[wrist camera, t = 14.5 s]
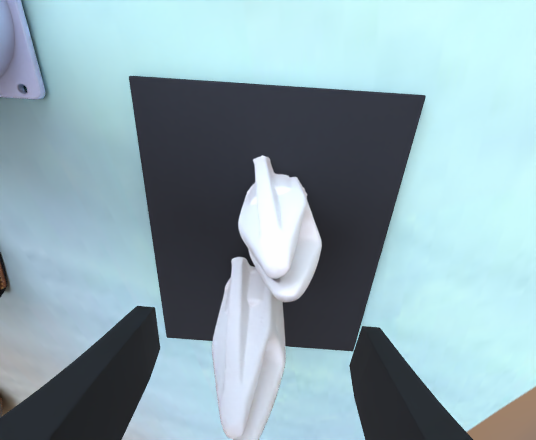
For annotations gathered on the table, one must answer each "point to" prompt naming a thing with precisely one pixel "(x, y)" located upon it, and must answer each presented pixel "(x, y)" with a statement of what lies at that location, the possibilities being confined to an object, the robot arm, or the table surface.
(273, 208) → the shaker set
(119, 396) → the robot arm
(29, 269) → the table surface
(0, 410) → the vase
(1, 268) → the sunglasses case
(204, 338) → the placemat
